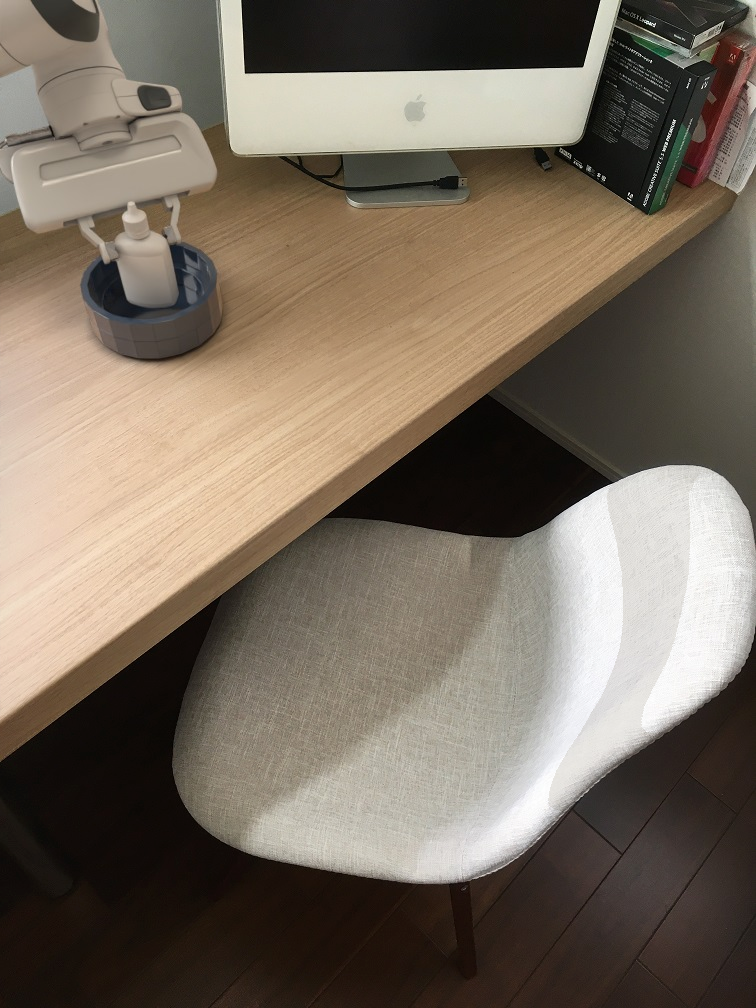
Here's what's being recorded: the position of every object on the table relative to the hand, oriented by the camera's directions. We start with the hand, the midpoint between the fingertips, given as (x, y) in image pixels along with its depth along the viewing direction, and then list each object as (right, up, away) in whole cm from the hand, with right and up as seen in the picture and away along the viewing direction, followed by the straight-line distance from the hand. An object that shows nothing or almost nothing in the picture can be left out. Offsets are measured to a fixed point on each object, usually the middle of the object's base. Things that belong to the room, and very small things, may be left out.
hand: (144, 253), depth 82 cm
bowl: (-1, -5, +8) cm, 9 cm away
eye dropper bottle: (-1, -3, +6) cm, 7 cm away
